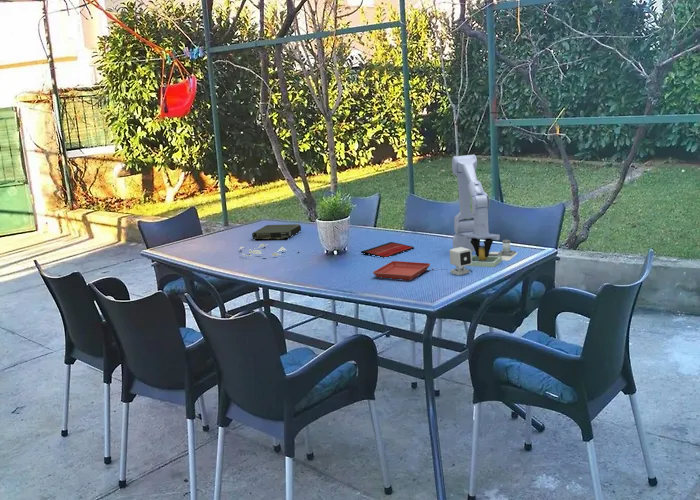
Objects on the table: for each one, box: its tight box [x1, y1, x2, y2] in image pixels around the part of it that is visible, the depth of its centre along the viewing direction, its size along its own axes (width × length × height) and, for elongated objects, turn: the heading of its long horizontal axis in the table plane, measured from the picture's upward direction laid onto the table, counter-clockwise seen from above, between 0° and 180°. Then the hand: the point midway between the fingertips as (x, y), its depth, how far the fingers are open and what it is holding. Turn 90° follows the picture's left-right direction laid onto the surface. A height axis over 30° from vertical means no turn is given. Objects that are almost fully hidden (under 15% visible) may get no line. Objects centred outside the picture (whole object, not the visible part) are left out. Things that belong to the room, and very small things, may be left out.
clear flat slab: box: [239, 242, 287, 256], centre depth 348 cm, size 35×24×3 cm
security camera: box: [449, 247, 473, 276], centre depth 279 cm, size 6×7×10 cm
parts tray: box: [467, 254, 503, 268], centre depth 288 cm, size 13×10×3 cm
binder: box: [360, 241, 415, 258], centre depth 327 cm, size 16×2×21 cm
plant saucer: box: [372, 260, 431, 281], centre depth 286 cm, size 18×18×3 cm
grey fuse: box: [501, 239, 511, 253], centre depth 298 cm, size 3×3×6 cm
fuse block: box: [489, 249, 519, 262], centre depth 297 cm, size 12×13×2 cm
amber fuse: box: [478, 245, 488, 262], centre depth 287 cm, size 3×3×6 cm
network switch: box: [251, 223, 302, 240], centre depth 385 cm, size 23×24×5 cm
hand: (482, 256), depth 287 cm, fingers closed on amber fuse, 3 cm apart
